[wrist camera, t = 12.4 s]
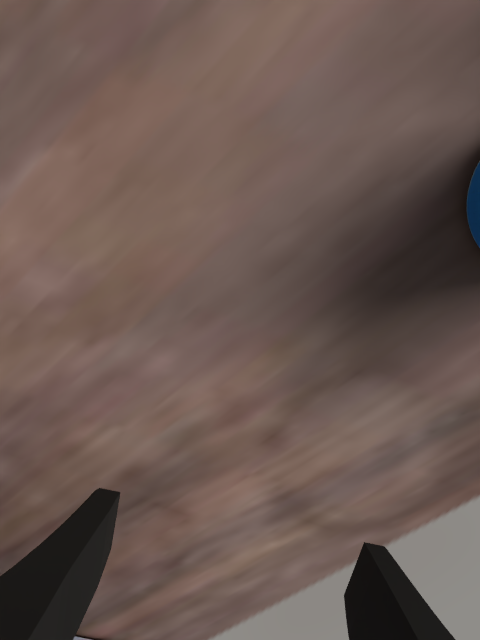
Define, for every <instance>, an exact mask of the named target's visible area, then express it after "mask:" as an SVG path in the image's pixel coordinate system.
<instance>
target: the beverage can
mask: <svg viewBox="0 0 480 640" xmlns="http://www.w3.org/2000/svg"><path fill="white" fill-rule="evenodd" d="M467 218H468V224H469V227H470V231H471V233H472V236H473V238H474V240H475V242H476V243H477V245H478V246H479V248H480V161H479V163H478V165H477V167H476V169H475V171H474V173H473V176H472V179H471V182H470V186H469V189H468V196H467Z"/></svg>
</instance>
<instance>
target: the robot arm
mask: <svg viewBox="0 0 480 640" xmlns="http://www.w3.org/2000/svg"><path fill="white" fill-rule="evenodd" d="M119 497H120V492H116V491H111V490H106V489H101V488H99V489H97V490H95V491H94V492H93V493H92V494H91V496H90V497H89V498H88V499H87V500H86V501H85V502H84V503H83V504H82V505H81V506H80V507H79V508H78V509H77V510H76V511H75V512H74V513H73V514H72V515H71V516H70V517H69V518H68V519H67V520H66V521H65V522H64V523H63V524H62V525H61V526H60V527H59V528H58V529H56V530H55V531H54V532H53V533H52V534H51V535H50V536H49V537H48V538H47V539H46V540H44V541H43V542H42V543H41V544H40V545H39V546H38V547H36V548H35V549H34V550H33V551H32V552H30V553H29V554H28V555H27V556H26V557H24V558H23V559H22V560H21V561H20V562H18V563H17V564H16V565H15V566H13V567H12V568H11V569H9V570H8V571H7V572H6V573H4V574H3V575H2V576H0V640H92V639H86V638H81V637H76V636H75V635H76V632H77V630H78V628H79V626H80V624H81V622H82V619H83V617H84V615H85V613H86V611H87V609H88V607H89V604H90V602H91V600H92V598H93V596H94V593H95V591H96V589H97V587H98V584H99V582H100V579H101V576H102V573H103V570H104V567H105V565H106V562H107V559H108V556H109V553H110V550H111V546H112V540H113V534H114V527H115V521H116V515H117V509H118V503H119ZM344 599H345V610H346V619H347V627H348V635H349V640H455V639H454V637H453V636H452V635H451V634H450V633H449V631H448V630H447V629H446V628H445V627H444V625H443V624H442V623H441V621H440V620H439V619H438V618H437V616H436V615H435V614H434V612H433V611H432V610H431V609H430V607H429V606H428V604H427V603H426V602H425V600H424V599H423V598H422V596H421V595H420V594H419V592H418V591H417V590H416V588H415V587H414V586H413V584H412V583H411V582H410V580H409V579H408V577H407V576H406V575H405V573H404V572H403V571H402V569H401V568H400V566H399V565H398V564H397V562H396V561H395V560H394V559H393V557H392V556H391V554H390V553H389V552H388V550H387V549H386V548H385V547H384V546H379V545H375V544H370V543H365V542H364V544H363V547H362V550H361V552H360V555H359V557H358V560H357V563H356V565H355V568H354V571H353V573H352V576H351V579H350V581H349V584H348V586H347V589H346V592H345V594H344Z"/></svg>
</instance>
